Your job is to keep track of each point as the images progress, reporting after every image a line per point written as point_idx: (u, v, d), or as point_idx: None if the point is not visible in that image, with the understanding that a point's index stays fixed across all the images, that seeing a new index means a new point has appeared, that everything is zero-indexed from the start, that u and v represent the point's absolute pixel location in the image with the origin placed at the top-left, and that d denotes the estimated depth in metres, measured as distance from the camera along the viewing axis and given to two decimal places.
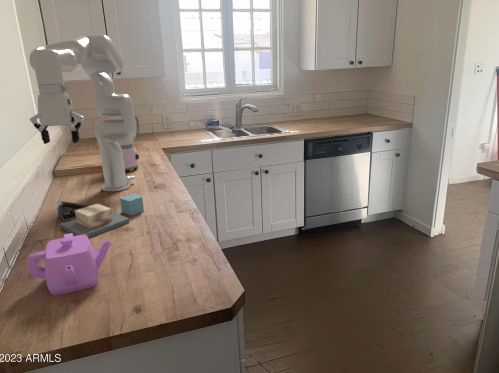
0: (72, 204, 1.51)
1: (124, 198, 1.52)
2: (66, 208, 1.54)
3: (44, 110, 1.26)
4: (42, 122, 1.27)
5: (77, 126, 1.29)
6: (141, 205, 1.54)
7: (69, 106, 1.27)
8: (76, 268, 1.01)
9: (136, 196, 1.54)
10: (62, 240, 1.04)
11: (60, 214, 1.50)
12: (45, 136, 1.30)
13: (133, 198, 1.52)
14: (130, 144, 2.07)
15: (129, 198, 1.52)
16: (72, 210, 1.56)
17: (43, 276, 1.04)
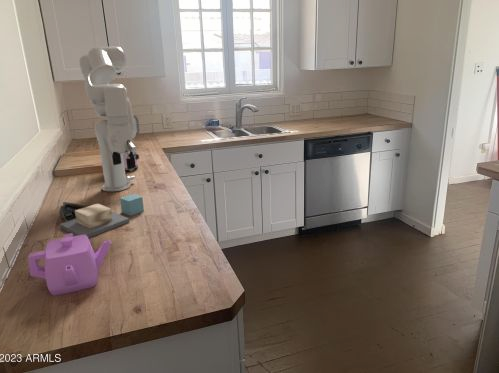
0: (74, 205, 1.50)
1: (124, 198, 1.52)
2: (68, 209, 1.53)
3: None
4: None
5: None
6: (141, 205, 1.54)
7: None
8: (76, 268, 1.01)
9: (136, 196, 1.54)
10: (62, 240, 1.04)
11: (62, 215, 1.49)
12: None
13: (133, 198, 1.52)
14: None
15: (129, 198, 1.52)
16: (74, 211, 1.55)
17: (43, 276, 1.04)
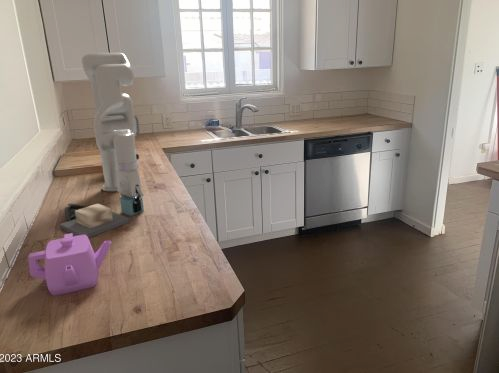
0: (79, 206, 1.48)
1: (124, 198, 1.52)
2: (72, 210, 1.51)
3: None
4: None
5: None
6: (141, 205, 1.54)
7: None
8: (76, 268, 1.01)
9: (136, 196, 1.54)
10: (62, 240, 1.04)
11: (67, 216, 1.47)
12: None
13: None
14: None
15: (129, 198, 1.52)
16: None
17: (43, 276, 1.04)
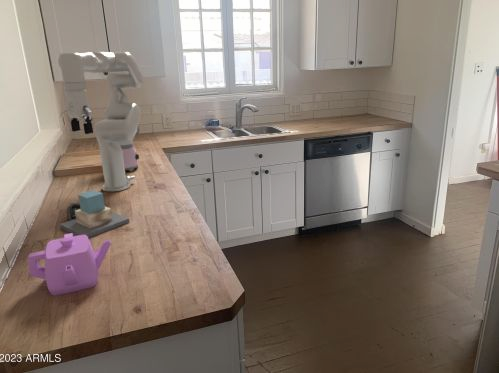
0: None
1: (82, 195, 1.38)
2: (75, 210, 1.52)
3: None
4: None
5: None
6: (101, 202, 1.40)
7: None
8: (76, 268, 1.01)
9: (96, 192, 1.40)
10: (62, 240, 1.04)
11: (69, 216, 1.48)
12: None
13: (92, 195, 1.38)
14: (130, 144, 2.07)
15: (88, 195, 1.38)
16: None
17: (43, 276, 1.04)
